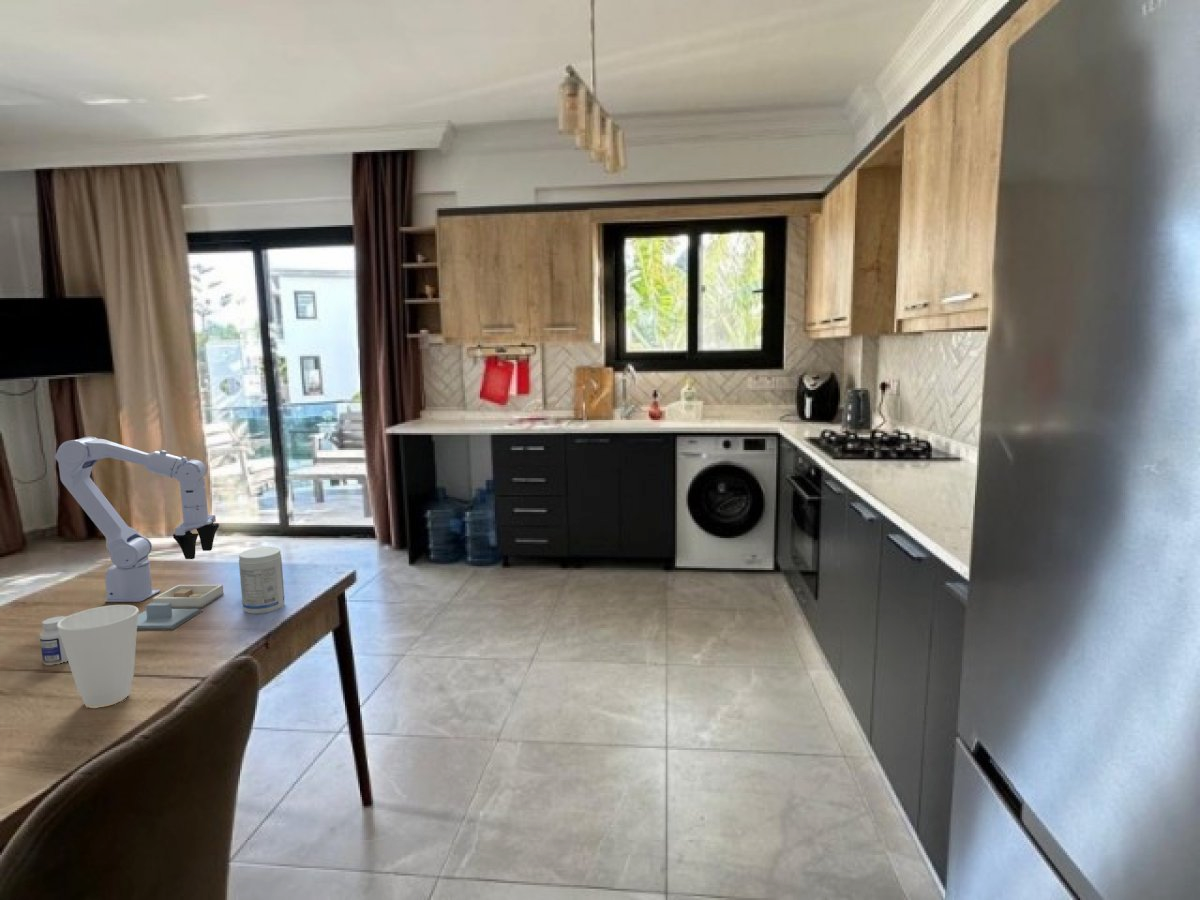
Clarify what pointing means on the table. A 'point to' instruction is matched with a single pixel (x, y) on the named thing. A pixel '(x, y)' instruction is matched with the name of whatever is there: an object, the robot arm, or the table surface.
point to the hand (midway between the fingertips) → (198, 554)
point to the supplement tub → (261, 580)
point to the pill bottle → (52, 642)
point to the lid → (162, 616)
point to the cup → (101, 651)
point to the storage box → (190, 595)
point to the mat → (174, 626)
